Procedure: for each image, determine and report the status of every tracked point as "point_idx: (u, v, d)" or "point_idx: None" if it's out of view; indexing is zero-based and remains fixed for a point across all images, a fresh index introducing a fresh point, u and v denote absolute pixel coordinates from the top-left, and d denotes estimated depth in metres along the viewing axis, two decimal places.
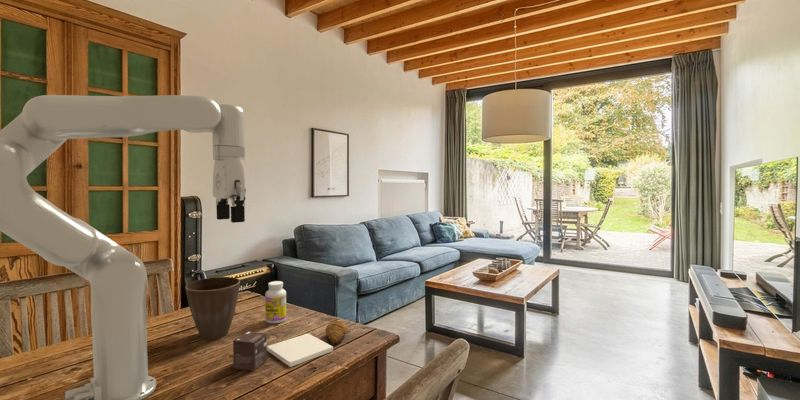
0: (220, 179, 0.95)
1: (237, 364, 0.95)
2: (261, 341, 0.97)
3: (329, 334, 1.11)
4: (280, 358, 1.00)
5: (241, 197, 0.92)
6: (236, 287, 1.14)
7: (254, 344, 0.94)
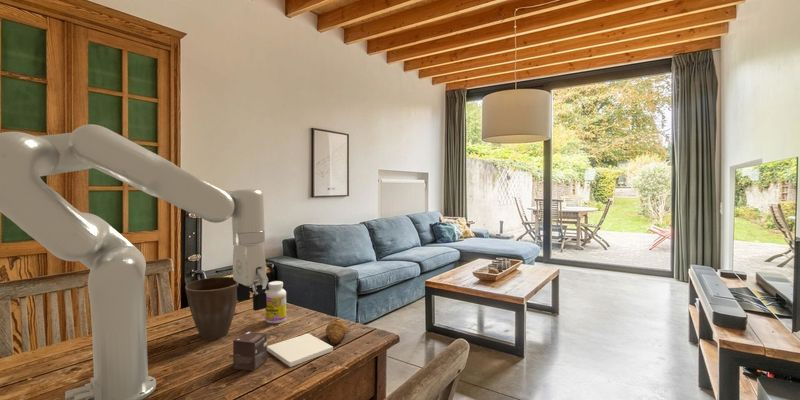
0: (241, 266, 0.93)
1: (237, 364, 0.95)
2: (261, 341, 0.97)
3: (329, 334, 1.11)
4: (280, 358, 1.00)
5: (263, 286, 0.91)
6: (236, 287, 1.14)
7: (254, 344, 0.94)
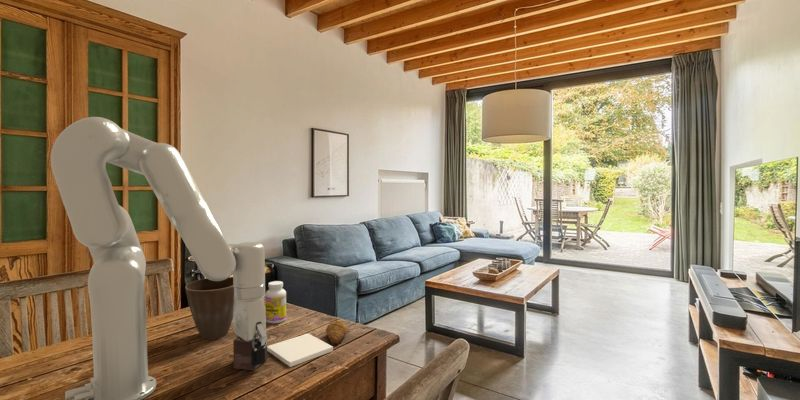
0: (241, 320, 0.94)
1: (237, 364, 0.95)
2: None
3: (329, 334, 1.11)
4: (280, 358, 1.00)
5: (262, 343, 0.92)
6: None
7: None
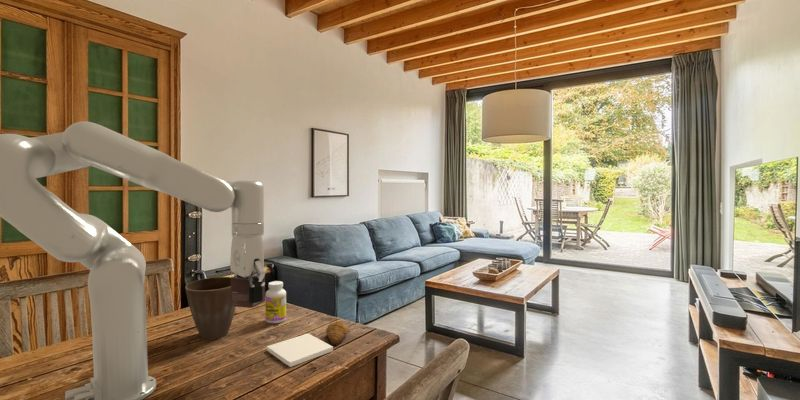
0: (239, 257, 0.93)
1: (235, 302, 0.94)
2: None
3: (330, 335, 1.11)
4: (280, 358, 1.00)
5: (260, 279, 0.91)
6: None
7: None
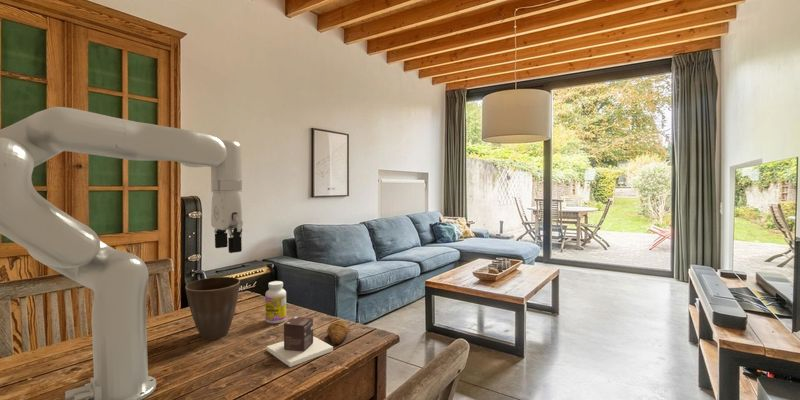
0: (218, 211, 1.00)
1: (288, 346, 1.03)
2: (309, 325, 1.05)
3: (331, 334, 1.11)
4: (280, 358, 1.00)
5: (238, 229, 0.97)
6: (236, 287, 1.14)
7: (303, 327, 1.02)
